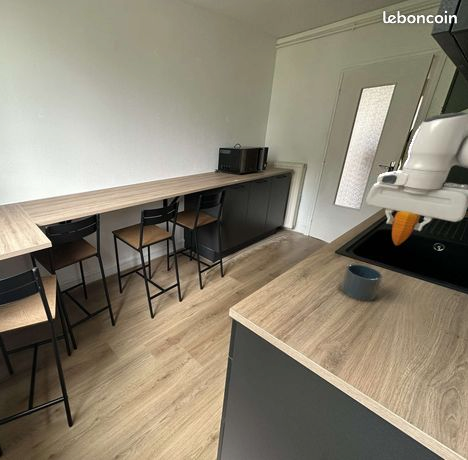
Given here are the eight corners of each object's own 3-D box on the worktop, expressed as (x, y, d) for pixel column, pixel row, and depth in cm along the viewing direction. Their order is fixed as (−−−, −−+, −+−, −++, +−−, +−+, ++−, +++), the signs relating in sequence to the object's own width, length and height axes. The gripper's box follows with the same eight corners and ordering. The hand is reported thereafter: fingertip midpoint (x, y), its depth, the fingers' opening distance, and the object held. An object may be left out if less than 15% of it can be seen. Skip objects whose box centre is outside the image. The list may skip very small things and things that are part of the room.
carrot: (407, 245, 75) (427, 196, 69) (406, 251, 72) (427, 200, 66) (386, 240, 79) (403, 193, 73) (384, 245, 75) (402, 197, 69)
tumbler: (378, 293, 82) (386, 272, 79) (368, 304, 78) (376, 283, 74) (347, 281, 89) (353, 261, 86) (336, 291, 84) (342, 270, 81)
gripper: (482, 184, 61) (457, 235, 67) (379, 172, 77) (365, 215, 82) (478, 188, 58) (452, 242, 63) (371, 175, 73) (358, 219, 79)
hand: (403, 226), depth 73 cm, fingers closed on carrot, 5 cm apart
